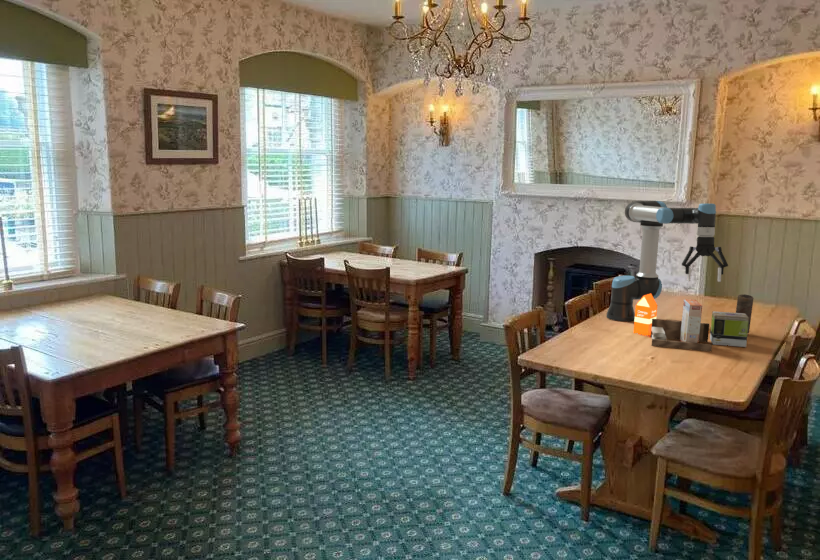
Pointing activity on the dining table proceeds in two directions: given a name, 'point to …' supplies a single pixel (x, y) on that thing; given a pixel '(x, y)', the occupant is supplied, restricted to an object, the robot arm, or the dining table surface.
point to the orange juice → (645, 315)
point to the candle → (745, 306)
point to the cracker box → (691, 321)
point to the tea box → (729, 329)
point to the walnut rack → (673, 332)
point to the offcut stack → (658, 333)
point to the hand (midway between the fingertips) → (703, 281)
